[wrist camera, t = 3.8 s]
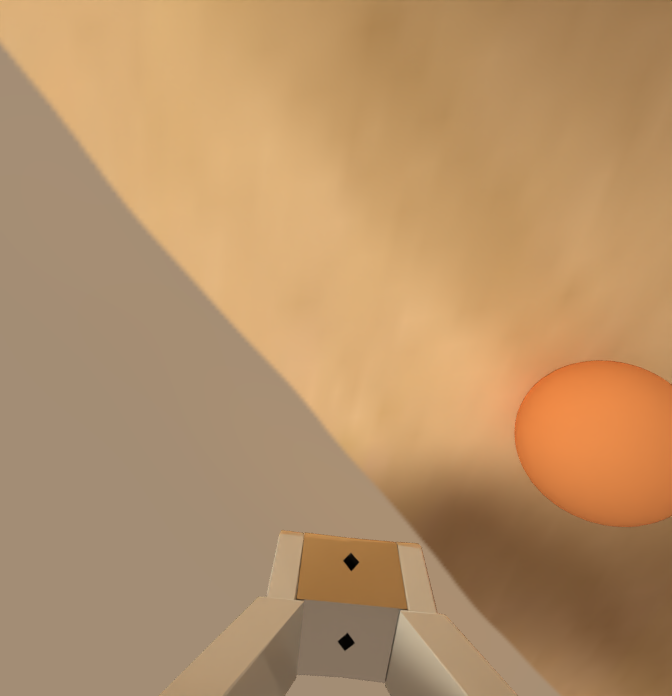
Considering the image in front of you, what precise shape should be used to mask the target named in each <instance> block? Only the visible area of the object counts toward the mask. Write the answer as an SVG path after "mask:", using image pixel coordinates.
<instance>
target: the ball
mask: <svg viewBox="0 0 672 696" xmlns="http://www.w3.org/2000/svg"><path fill="white" fill-rule="evenodd" d="M515 443H516V449H517V453H518V456H519V459H520V462H521V464H522V466H523V468H524V470H525V472H526V473H527V475H528V477H529V478H530V480H531V481H532V483H533V484H534V485H535V486H536V487H537V488H538V489H539V491H540V492H541V493H542V494H543V495H544V496H546V497H547V498H548V499H549V500H550V501H552V502H553V503H554V504H555V505H557V506H558V507H560V508H562V509H563V510H565V511H567V512H568V513H570V514H572V515H575V516H577V517H579V518H582V519H584V520H587V521H590V522H594V523H598V524H602V525H607V526H618V527H634V526H641V525H647V524H651V523H655V522H658V521H661V520H664V519H666V518H668V517H670V516H672V385H671V384H670V383H669V382H667V381H666V380H664V379H663V378H661V377H659V376H658V375H656V374H654V373H652V372H650V371H647V370H645V369H642V368H640V367H637V366H634V365H630V364H626V363H621V362H615V361H586V362H580V363H575V364H571V365H568V366H565V367H562V368H560V369H558V370H555V371H554V372H552V373H550V374H548V375H547V376H545V377H544V378H543V379H541V380H540V381H539V382H538V383H537V384H535V385H534V386H533V388H532V389H531V390H530V391H529V392H528V394H527V395H526V397H525V398H524V400H523V402H522V404H521V406H520V408H519V411H518V413H517V418H516V423H515Z"/></svg>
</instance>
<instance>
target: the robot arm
mask: <svg viewBox="0 0 672 696" xmlns="http://www.w3.org/2000/svg"><path fill="white" fill-rule="evenodd" d="M296 675H312V676H329V677H343V678H351V679H359V680H367V681H374V682H382V683H386V685H385V686H386V688H387V690H388V692H389V693H390V695H391V696H518V695H517V694H516V693H515V692H514V691H513V690H512V689H511V687H510V686H509V685H508V684H507V683H506V682H505V681H504V680H503V679H502V677H501V676H500V675H499V674H498V673H497V672H496V671H495V669H494V668H493V667H492V666H491V665H490V664H489V663H488V662H487V661H486V659H485V658H484V657H483V656H482V655H481V654H480V653H479V652H478V651H477V650H476V649H475V647H474V646H473V645H472V644H471V643H470V642H469V640H467V638H466V637H465V636H464V635H463V634H462V633H461V632H460V630H459V629H458V628H457V627H456V626H455V625H454V624H453V623H452V622H451V620H450V619H449V618H448V617H447V616H446V615H445V614H438V613H437V609H436V605H435V601H434V597H433V593H432V589H431V584H430V580H429V576H428V572H427V568H426V564H425V560H424V556H423V552H422V548H421V546H420V545H419V544H418V543H405V542H390V541H378V540H367V539H356V538H345V537H336V536H329V535H321V534H313V533H305V535H304V533H300V532H292V531H285V530H281V532H280V534H279V537H278V542H277V547H276V551H275V556H274V562H273V566H272V571H271V575H270V580H269V585H268V590H267V595H266V597H257V599H256V600H254V601H253V602H252V603H251V604H250V606H249V607H247V608H246V610H244V611H243V612H242V613H241V614H240V615H239V617H237V618H236V619H235V620H234V621H233V622H232V623H231V624H230V625H229V627H227V628H226V629H225V630H224V631H223V632H222V633H221V634H220V635H219V636H218V637H217V638H216V639H215V640H214V641H213V642H212V643H211V644H210V645H209V646H208V647H207V648H206V649H205V650H204V651H203V652H202V653H201V654H200V655H199V656H198V657H197V658H196V659H195V660H194V661H193V662H192V663H191V664H190V665H189V666H188V667H187V668H186V669H185V670H184V671H183V672H182V673H181V674H180V675H179V676H178V677H177V678H176V679H175V680H174V681H173V682H172V683H171V684H170V685H169V686H168V687H167V688H166V689H165V690H164V691H163V692H162V693H161V694H160V695H159V696H285V694H286V693H287V691H288V690H289V688H290V687H291V685H292V684H293V682H294V681H295V679H296Z"/></svg>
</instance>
